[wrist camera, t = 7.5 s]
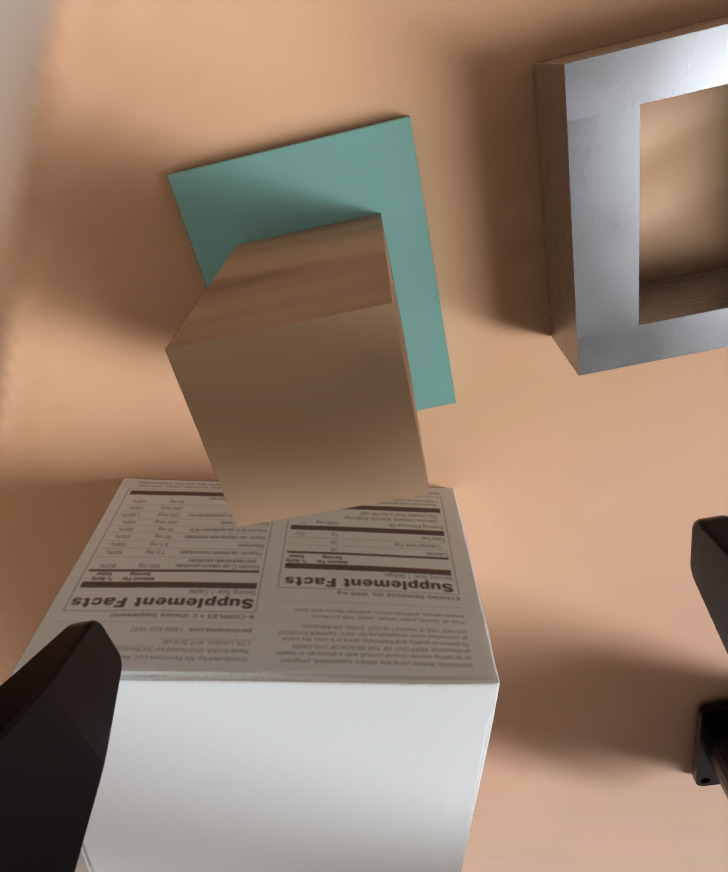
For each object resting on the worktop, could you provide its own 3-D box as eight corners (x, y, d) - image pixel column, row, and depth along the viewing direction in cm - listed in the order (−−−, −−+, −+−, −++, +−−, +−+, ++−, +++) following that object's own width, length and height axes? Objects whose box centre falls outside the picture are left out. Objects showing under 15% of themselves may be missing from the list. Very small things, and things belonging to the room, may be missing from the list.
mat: (454, 395, 22) (456, 402, 22) (263, 432, 23) (261, 439, 22) (408, 115, 17) (409, 116, 17) (172, 173, 18) (167, 176, 18)
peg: (406, 349, 20) (429, 493, 14) (277, 374, 21) (236, 527, 14) (380, 212, 18) (392, 303, 11) (237, 244, 19) (164, 349, 12)
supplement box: (425, 745, 33) (447, 967, 25) (174, 741, 33) (112, 964, 24) (462, 481, 24) (512, 690, 16) (119, 473, 24) (-4, 682, 16)
